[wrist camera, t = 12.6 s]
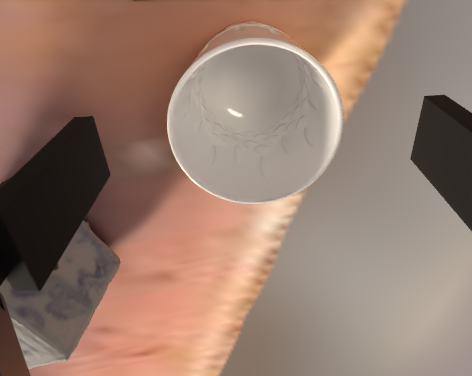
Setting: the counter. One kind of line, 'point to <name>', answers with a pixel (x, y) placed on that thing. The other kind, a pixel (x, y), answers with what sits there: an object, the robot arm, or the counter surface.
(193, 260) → the counter surface
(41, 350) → the incense holder
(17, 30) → the counter surface
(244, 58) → the white cup
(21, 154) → the counter surface
